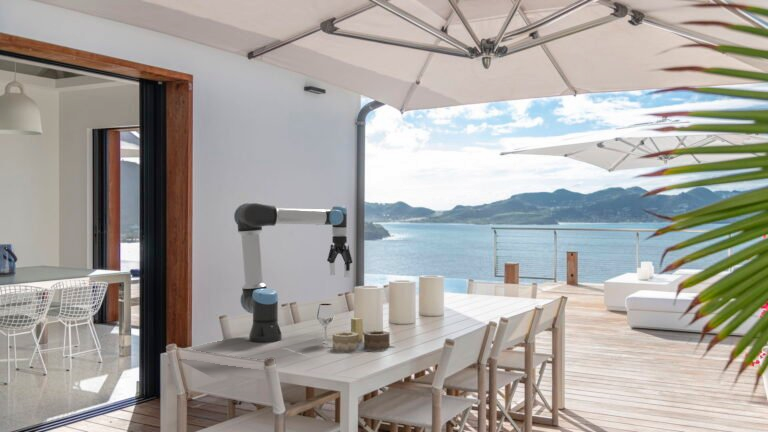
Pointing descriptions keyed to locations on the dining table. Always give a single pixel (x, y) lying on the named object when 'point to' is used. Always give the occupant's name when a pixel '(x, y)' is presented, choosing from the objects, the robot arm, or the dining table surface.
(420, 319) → the dining table surface
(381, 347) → the walnut bead
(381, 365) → the dining table surface
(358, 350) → the mat
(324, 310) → the wineglass
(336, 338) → the beech bead
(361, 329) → the yellow peg
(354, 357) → the dining table surface
